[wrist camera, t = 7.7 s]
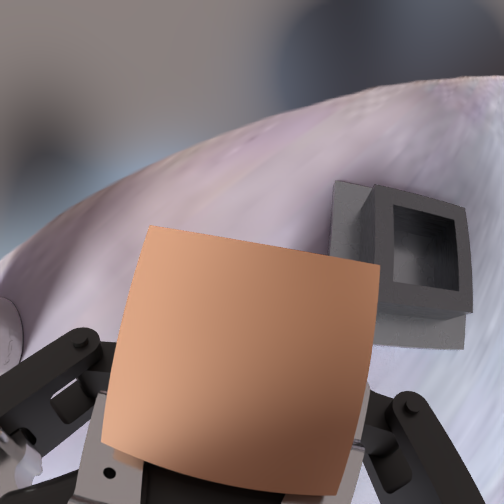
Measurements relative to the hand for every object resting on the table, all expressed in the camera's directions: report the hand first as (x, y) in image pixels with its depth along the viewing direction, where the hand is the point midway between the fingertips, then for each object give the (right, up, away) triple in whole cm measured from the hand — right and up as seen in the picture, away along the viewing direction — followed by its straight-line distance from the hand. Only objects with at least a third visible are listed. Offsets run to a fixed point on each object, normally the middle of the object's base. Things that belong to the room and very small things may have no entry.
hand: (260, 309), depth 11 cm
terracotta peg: (0, -4, +4) cm, 5 cm away
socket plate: (+13, +1, +12) cm, 18 cm away
